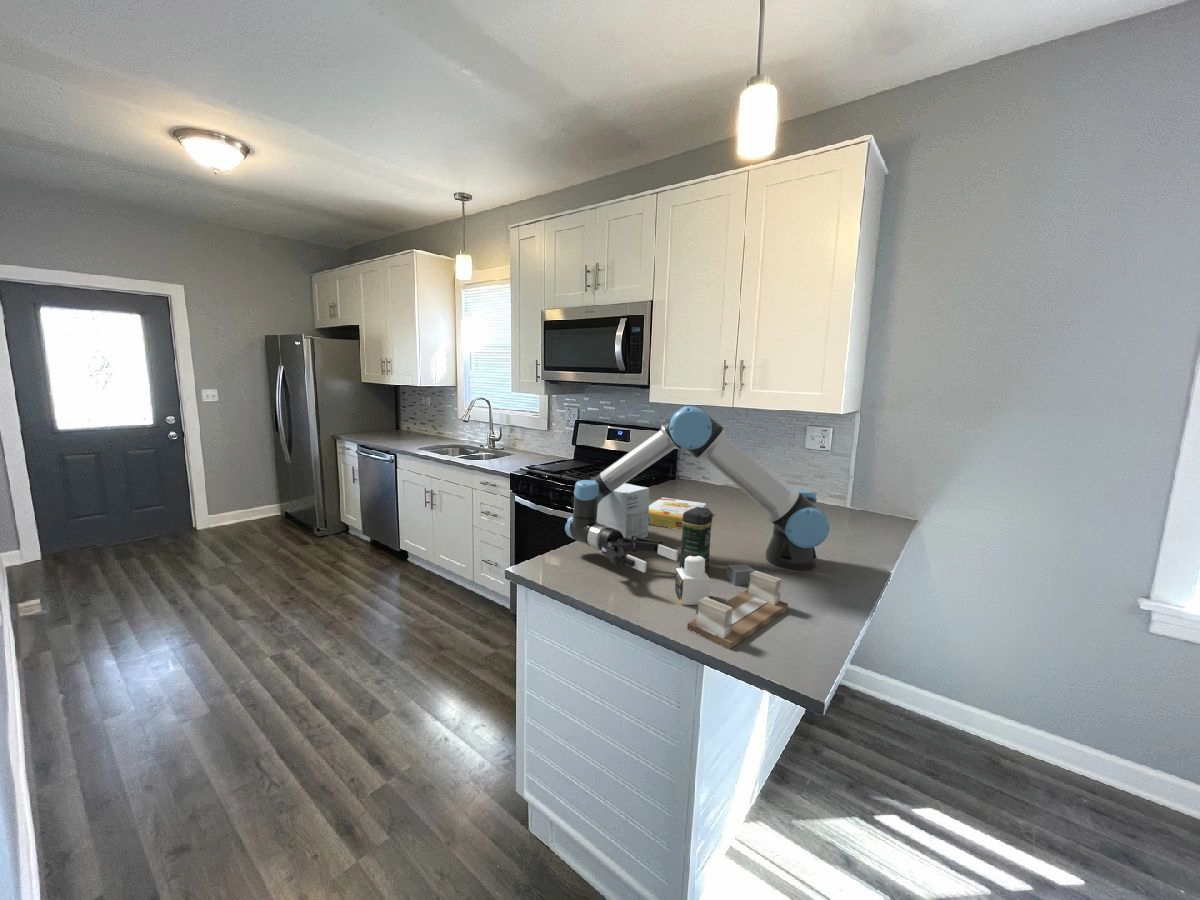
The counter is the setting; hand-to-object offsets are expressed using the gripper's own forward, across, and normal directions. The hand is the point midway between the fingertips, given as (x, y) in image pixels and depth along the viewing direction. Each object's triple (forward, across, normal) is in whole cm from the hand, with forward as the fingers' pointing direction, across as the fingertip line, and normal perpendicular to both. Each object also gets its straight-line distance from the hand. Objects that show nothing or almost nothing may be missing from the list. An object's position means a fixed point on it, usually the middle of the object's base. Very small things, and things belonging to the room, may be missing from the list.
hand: (661, 561), depth 130 cm
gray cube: (+12, -21, -7) cm, 25 cm away
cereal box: (-38, -57, -8) cm, 69 cm away
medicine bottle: (+10, -1, -7) cm, 12 cm away
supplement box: (-38, -24, -8) cm, 46 cm away
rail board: (+24, -1, -7) cm, 25 cm away
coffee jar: (-1, -19, -7) cm, 20 cm away
